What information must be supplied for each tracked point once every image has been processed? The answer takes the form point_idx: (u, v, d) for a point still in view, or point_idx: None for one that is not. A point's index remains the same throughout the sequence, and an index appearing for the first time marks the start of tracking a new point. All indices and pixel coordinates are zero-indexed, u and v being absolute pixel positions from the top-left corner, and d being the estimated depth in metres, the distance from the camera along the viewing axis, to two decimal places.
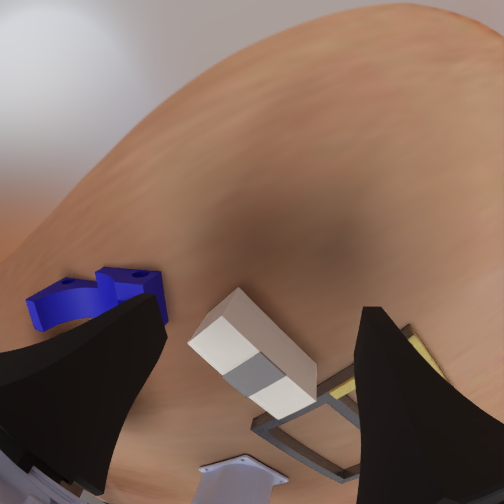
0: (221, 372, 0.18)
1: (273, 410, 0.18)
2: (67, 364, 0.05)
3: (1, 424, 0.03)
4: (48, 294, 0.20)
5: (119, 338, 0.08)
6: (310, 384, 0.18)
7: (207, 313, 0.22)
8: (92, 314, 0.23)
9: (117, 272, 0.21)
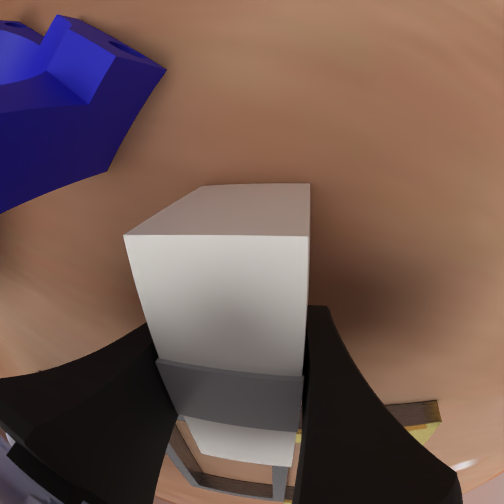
0: (161, 351, 0.06)
1: (207, 444, 0.08)
2: (119, 383, 0.05)
3: (50, 464, 0.03)
4: None
5: None
6: None
7: (199, 187, 0.09)
8: None
9: (89, 29, 0.06)
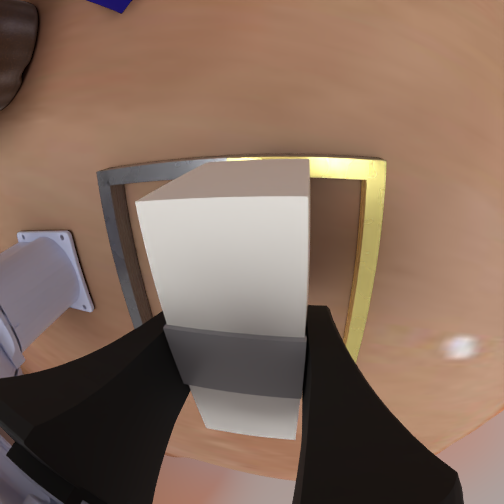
0: (169, 317, 0.07)
1: (212, 417, 0.09)
2: (119, 383, 0.05)
3: (49, 464, 0.03)
4: None
5: (168, 348, 0.07)
6: (299, 405, 0.10)
7: None
8: None
9: None
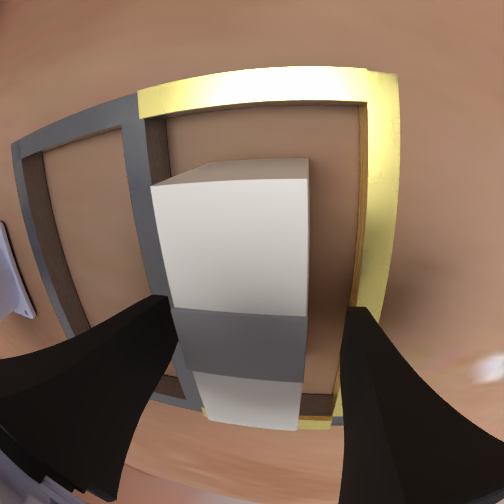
0: (177, 299, 0.07)
1: (215, 407, 0.09)
2: (80, 369, 0.05)
3: (12, 435, 0.03)
4: None
5: (132, 341, 0.08)
6: None
7: (210, 162, 0.10)
8: None
9: None
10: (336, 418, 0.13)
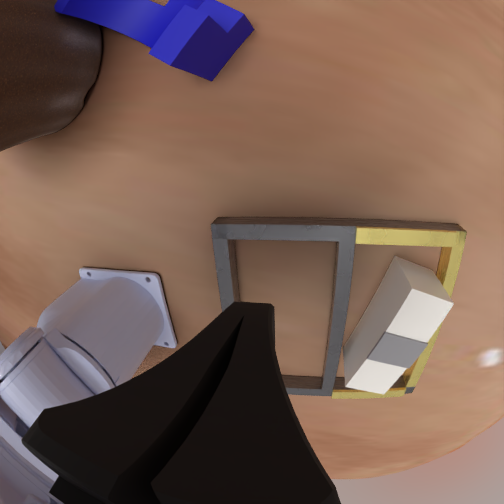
0: (389, 328, 0.15)
1: (357, 379, 0.18)
2: (192, 403, 0.05)
3: None
4: None
5: (229, 357, 0.07)
6: None
7: (395, 256, 0.18)
8: (127, 30, 0.13)
9: None
10: (407, 388, 0.21)
